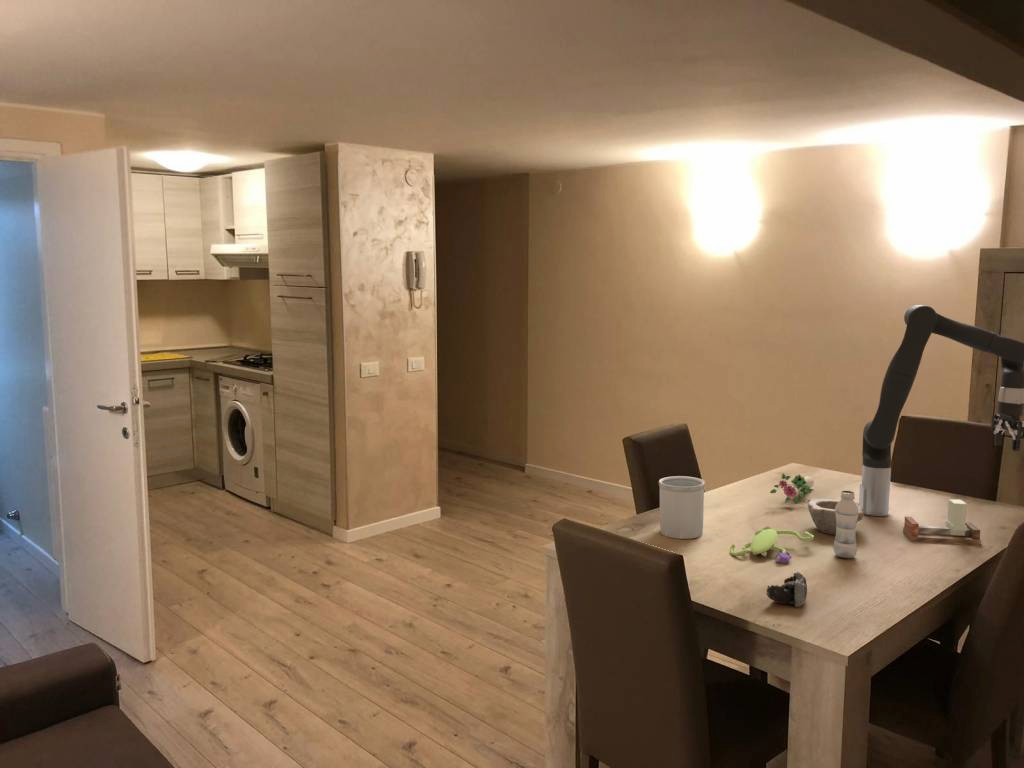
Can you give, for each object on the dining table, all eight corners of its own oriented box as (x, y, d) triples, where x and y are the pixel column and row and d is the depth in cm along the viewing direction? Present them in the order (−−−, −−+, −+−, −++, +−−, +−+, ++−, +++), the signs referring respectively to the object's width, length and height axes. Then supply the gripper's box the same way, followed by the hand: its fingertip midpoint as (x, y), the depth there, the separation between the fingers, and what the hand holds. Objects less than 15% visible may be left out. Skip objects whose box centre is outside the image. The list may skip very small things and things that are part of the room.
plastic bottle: (846, 562, 237) (849, 496, 234) (827, 555, 243) (831, 490, 240) (861, 558, 240) (865, 493, 237) (842, 551, 246) (846, 488, 243)
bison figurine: (805, 594, 214) (765, 588, 217) (807, 569, 213) (767, 563, 215) (807, 613, 202) (765, 606, 205) (809, 586, 201) (767, 580, 204)
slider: (952, 535, 254) (954, 504, 253) (944, 529, 261) (947, 498, 260) (966, 536, 254) (968, 504, 252) (958, 529, 260) (960, 498, 259)
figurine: (819, 547, 251) (820, 530, 250) (781, 570, 232) (782, 551, 231) (763, 535, 264) (764, 518, 263) (723, 555, 244) (724, 537, 244)
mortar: (859, 526, 271) (860, 499, 270) (863, 541, 256) (865, 513, 254) (806, 521, 277) (807, 495, 276) (807, 536, 261) (808, 508, 260)
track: (911, 541, 255) (912, 524, 255) (902, 531, 265) (903, 515, 264) (980, 545, 252) (981, 528, 251) (968, 535, 261) (970, 518, 261)
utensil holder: (649, 533, 265) (650, 481, 262) (673, 523, 275) (674, 473, 273) (688, 543, 255) (689, 489, 252) (712, 532, 265) (713, 480, 263)
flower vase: (813, 508, 318) (798, 511, 288) (784, 495, 324) (765, 496, 294) (825, 481, 317) (811, 480, 287) (795, 468, 323) (778, 466, 293)
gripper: (986, 397, 276) (982, 443, 278) (1015, 404, 262) (1010, 452, 264) (1007, 397, 277) (1002, 443, 279) (1037, 404, 263) (1032, 452, 265)
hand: (1006, 448), depth 272 cm, fingers open, 8 cm apart
